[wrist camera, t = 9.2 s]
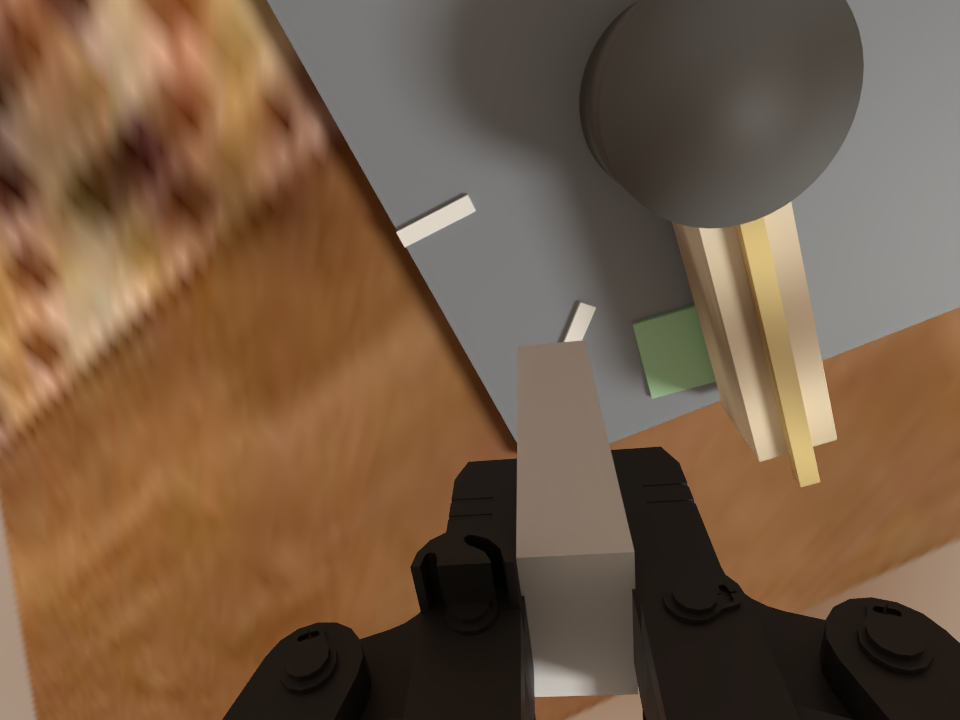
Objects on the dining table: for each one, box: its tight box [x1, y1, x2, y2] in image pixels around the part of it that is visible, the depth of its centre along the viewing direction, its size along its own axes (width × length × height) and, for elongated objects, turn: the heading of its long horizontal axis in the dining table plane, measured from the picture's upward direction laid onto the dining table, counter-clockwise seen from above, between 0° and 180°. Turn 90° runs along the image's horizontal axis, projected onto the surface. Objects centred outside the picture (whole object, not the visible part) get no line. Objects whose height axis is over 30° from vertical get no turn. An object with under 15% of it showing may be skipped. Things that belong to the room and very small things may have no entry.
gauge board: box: [267, 0, 960, 444], centre depth 19 cm, size 20×22×1 cm
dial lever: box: [579, 0, 864, 487], centre depth 18 cm, size 15×6×5 cm, turn 22°
